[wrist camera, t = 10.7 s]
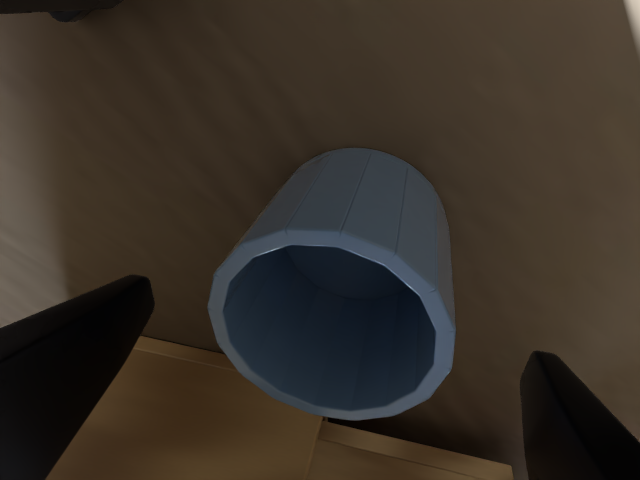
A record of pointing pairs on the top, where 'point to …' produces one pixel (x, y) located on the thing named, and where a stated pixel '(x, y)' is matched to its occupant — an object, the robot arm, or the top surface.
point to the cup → (342, 289)
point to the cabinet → (188, 424)
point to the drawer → (392, 459)
